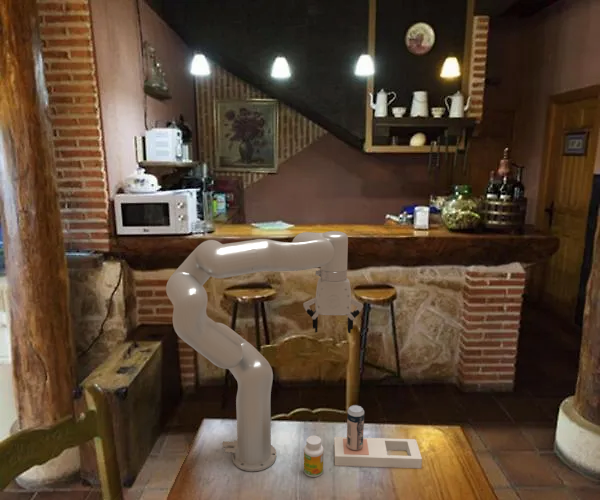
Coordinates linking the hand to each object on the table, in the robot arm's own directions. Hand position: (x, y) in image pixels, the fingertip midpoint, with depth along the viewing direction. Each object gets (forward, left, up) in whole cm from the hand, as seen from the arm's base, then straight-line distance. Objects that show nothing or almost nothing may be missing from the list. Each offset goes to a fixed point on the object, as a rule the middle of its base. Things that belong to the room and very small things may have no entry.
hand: (332, 330), depth 142 cm
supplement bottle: (-5, -17, -34) cm, 39 cm away
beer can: (+7, -10, -31) cm, 34 cm away
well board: (+13, -10, -34) cm, 38 cm away
